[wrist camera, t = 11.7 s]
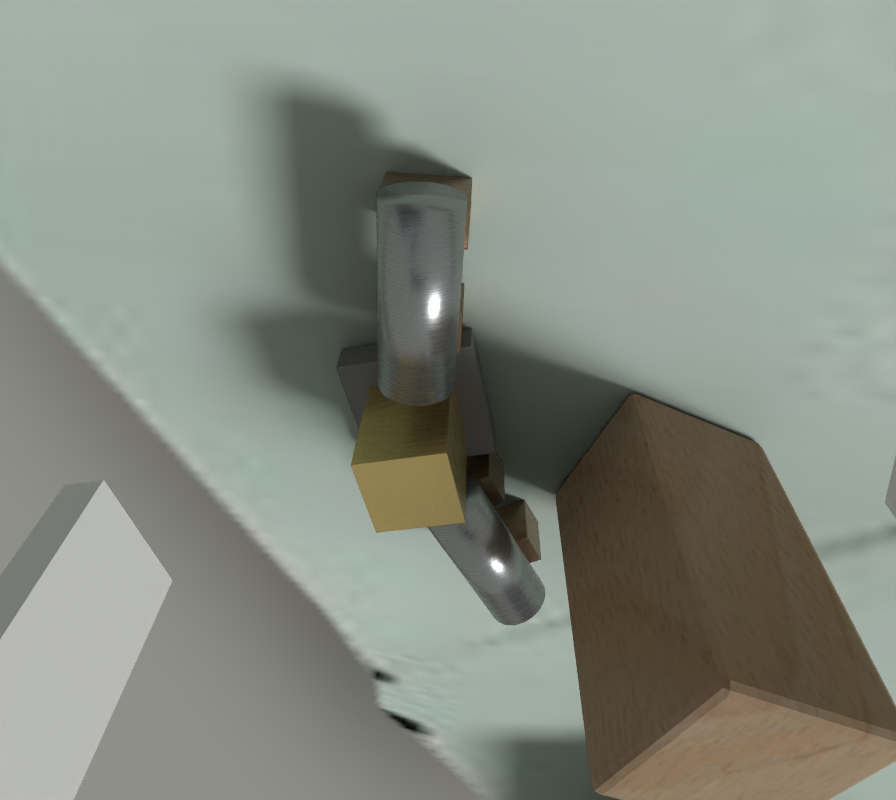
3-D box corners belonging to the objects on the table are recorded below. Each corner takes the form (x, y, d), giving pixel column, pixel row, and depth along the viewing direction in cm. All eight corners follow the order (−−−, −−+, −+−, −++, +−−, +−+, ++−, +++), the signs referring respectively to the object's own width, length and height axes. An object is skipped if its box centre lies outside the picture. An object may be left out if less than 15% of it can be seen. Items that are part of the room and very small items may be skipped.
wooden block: (552, 494, 48) (588, 796, 32) (630, 388, 42) (723, 688, 26) (673, 537, 50) (765, 842, 34) (762, 442, 44) (925, 751, 28)
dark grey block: (341, 349, 41) (336, 367, 40) (471, 328, 40) (471, 345, 38) (377, 449, 46) (373, 468, 44) (494, 432, 45) (495, 452, 43)
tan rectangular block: (389, 450, 43) (376, 532, 38) (368, 386, 40) (350, 465, 35) (467, 440, 43) (465, 522, 37) (451, 374, 40) (446, 453, 34)
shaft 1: (386, 156, 34) (365, 210, 28) (473, 161, 34) (471, 216, 28) (386, 328, 40) (369, 403, 34) (460, 333, 40) (456, 408, 34)
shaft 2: (424, 453, 46) (415, 537, 40) (483, 431, 45) (483, 514, 39) (487, 545, 51) (488, 632, 45) (541, 528, 50) (550, 615, 44)
